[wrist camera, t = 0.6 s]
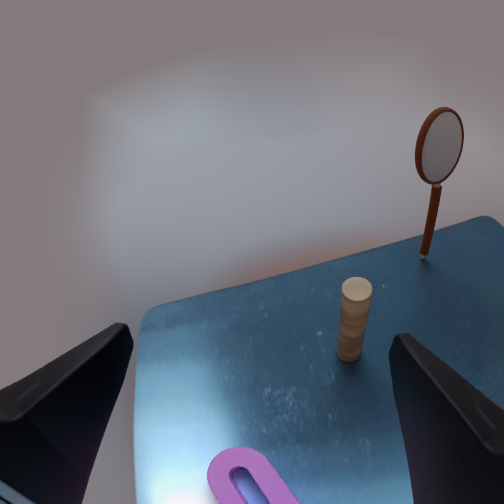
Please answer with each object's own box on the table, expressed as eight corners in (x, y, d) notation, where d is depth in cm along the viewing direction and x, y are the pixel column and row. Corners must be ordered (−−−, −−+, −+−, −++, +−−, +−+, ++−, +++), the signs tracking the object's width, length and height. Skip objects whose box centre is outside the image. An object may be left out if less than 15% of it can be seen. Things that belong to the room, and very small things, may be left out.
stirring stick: (362, 360, 26) (376, 297, 20) (339, 364, 26) (345, 303, 20) (357, 340, 28) (367, 274, 21) (335, 344, 28) (338, 279, 22)
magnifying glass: (437, 242, 35) (458, 102, 22) (445, 249, 34) (470, 107, 21) (396, 267, 34) (411, 108, 21) (404, 275, 33) (425, 113, 20)
